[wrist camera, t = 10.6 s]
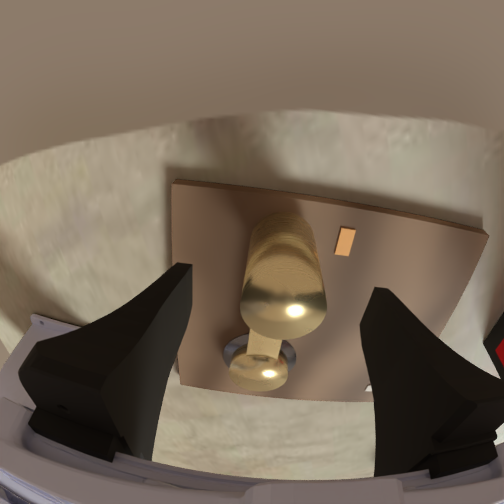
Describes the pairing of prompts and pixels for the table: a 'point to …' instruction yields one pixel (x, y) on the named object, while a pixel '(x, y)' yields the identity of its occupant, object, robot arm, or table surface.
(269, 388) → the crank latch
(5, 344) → the table surface
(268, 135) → the table surface
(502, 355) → the cleaning product box
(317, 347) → the board
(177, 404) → the table surface
